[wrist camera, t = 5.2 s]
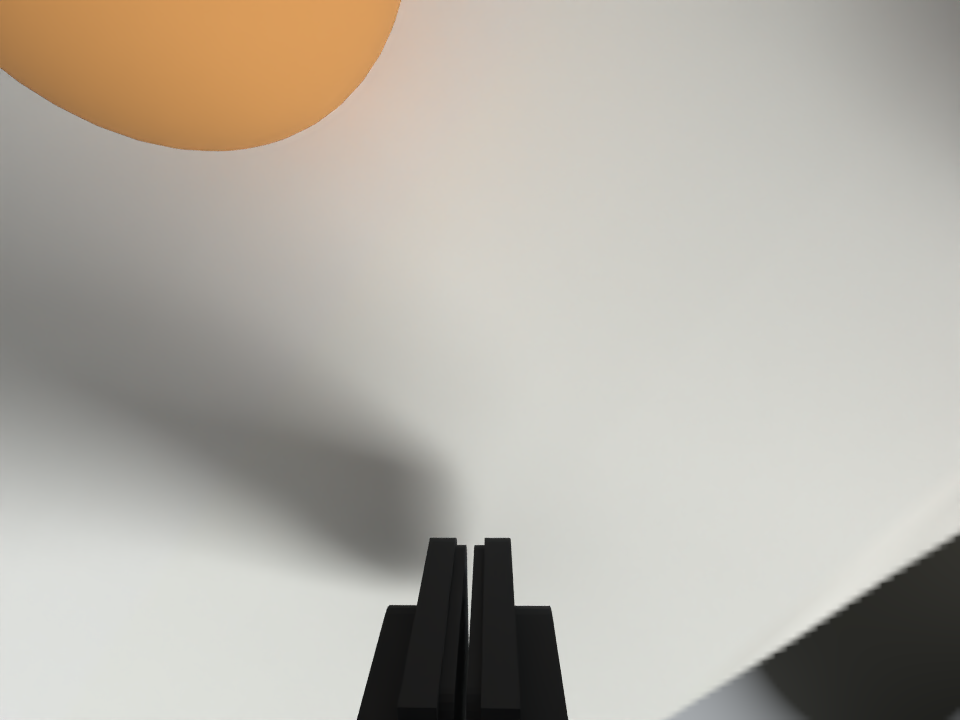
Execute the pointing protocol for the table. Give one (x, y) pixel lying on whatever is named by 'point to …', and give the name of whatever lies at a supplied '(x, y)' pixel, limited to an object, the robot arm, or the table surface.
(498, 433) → the table surface
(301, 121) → the ball
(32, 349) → the table surface
